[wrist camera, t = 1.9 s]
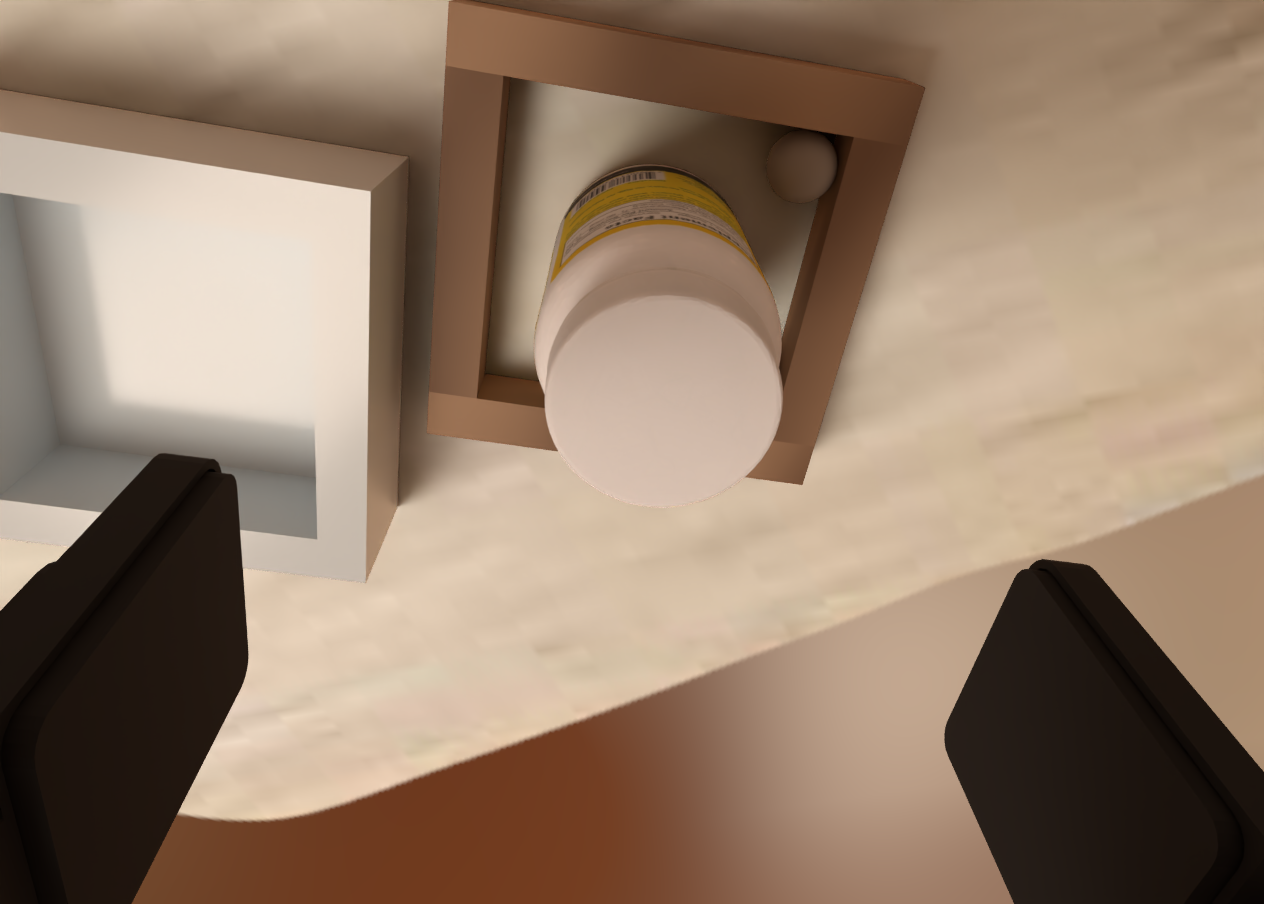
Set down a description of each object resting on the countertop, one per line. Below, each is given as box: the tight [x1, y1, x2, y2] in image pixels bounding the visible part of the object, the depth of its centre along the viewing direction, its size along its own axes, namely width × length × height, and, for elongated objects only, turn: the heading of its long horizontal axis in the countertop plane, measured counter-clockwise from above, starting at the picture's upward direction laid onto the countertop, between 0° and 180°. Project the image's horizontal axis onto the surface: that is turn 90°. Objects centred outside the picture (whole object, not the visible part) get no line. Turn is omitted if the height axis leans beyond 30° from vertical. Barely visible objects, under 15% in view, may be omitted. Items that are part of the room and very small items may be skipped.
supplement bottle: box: [534, 164, 783, 508], centre depth 18 cm, size 5×5×8 cm
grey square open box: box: [0, 89, 409, 583], centre depth 21 cm, size 10×10×4 cm
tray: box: [427, 0, 925, 485], centre depth 21 cm, size 10×10×2 cm
